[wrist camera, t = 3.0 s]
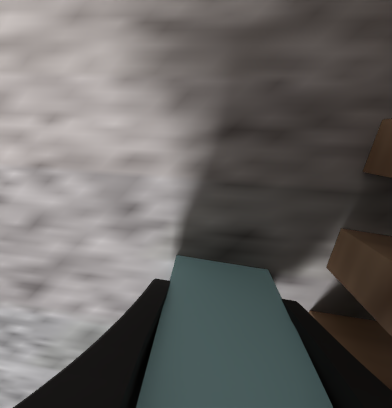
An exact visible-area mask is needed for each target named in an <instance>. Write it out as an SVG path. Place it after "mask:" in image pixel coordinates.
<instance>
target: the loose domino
mask: <svg viewBox="0 0 392 408" xmlns="http://www.w3.org/2000/svg"><path fill="white" fill-rule="evenodd" d="M281 299H282V298H281V296H280V294H279V292H278V290H277V287H276V285H275V283H274V281H273V279H272V277H271V275H270V273H269V271H268V270H267V269H261V268H254V267H248V266H242V265H236V264H229V263H223V262H217V261H211V260H204V259H198V258H192V257H185V256H179V255H177V256H176V260H175V263H174V267H173V271H172V275H171V278H170V285H169V289H168V293H167V297H166V300H165V303H164V305H163V308H162V312H161V316H160V319H159V323H158V327H157V331H156V334H155V338H154V342H153V346H152V349H151V353H150V357H149V361H148V364H147V368H146V372H145V376H144V379H143V383H142V387H141V391H140V394H139V398H138V402H137V406H136V408H333V406H332V404H331V402H330V400H329V397H328V395H327V393H326V391H325V389H324V387H323V385H322V383H321V380H320V378H319V376H318V374H317V372H316V370H315V368H314V366H313V364H312V361H311V359H310V357H309V355H308V353H307V351H306V349H305V347H304V345H303V342H302V340H301V338H300V336H299V334H298V332H297V330H296V328H295V326H294V324H293V323H292V321H291V319H290V317H289V315H288V313H287V311H286V308H285V306H284V304H283V302H282V300H281Z"/></svg>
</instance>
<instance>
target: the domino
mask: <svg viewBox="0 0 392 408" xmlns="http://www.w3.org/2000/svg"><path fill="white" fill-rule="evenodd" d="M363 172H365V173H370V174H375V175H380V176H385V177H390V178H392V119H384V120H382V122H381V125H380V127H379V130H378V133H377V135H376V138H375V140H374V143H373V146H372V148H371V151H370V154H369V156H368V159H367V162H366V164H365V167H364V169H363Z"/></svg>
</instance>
